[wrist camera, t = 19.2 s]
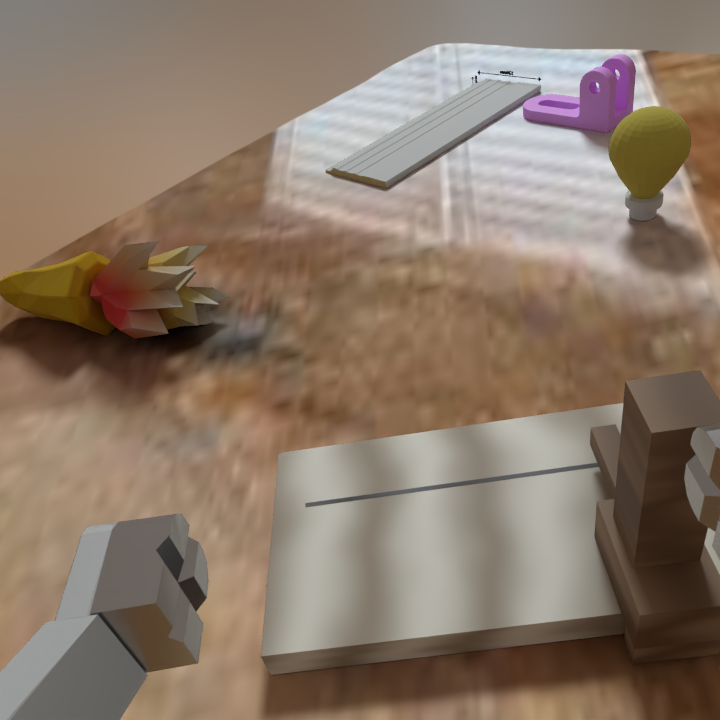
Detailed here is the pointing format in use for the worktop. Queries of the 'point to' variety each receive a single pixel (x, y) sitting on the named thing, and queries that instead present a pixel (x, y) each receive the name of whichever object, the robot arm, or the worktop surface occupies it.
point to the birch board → (440, 544)
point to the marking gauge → (658, 519)
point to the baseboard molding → (434, 132)
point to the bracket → (590, 99)
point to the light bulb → (648, 156)
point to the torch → (116, 291)
